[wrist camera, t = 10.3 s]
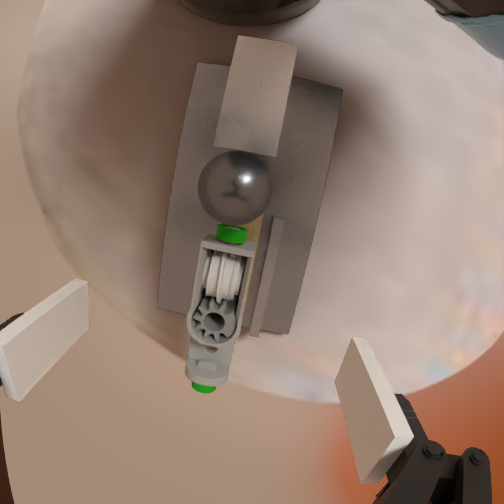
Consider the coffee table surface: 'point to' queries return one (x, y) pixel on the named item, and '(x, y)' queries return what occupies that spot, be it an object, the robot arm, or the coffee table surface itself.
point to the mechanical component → (217, 305)
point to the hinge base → (284, 200)
